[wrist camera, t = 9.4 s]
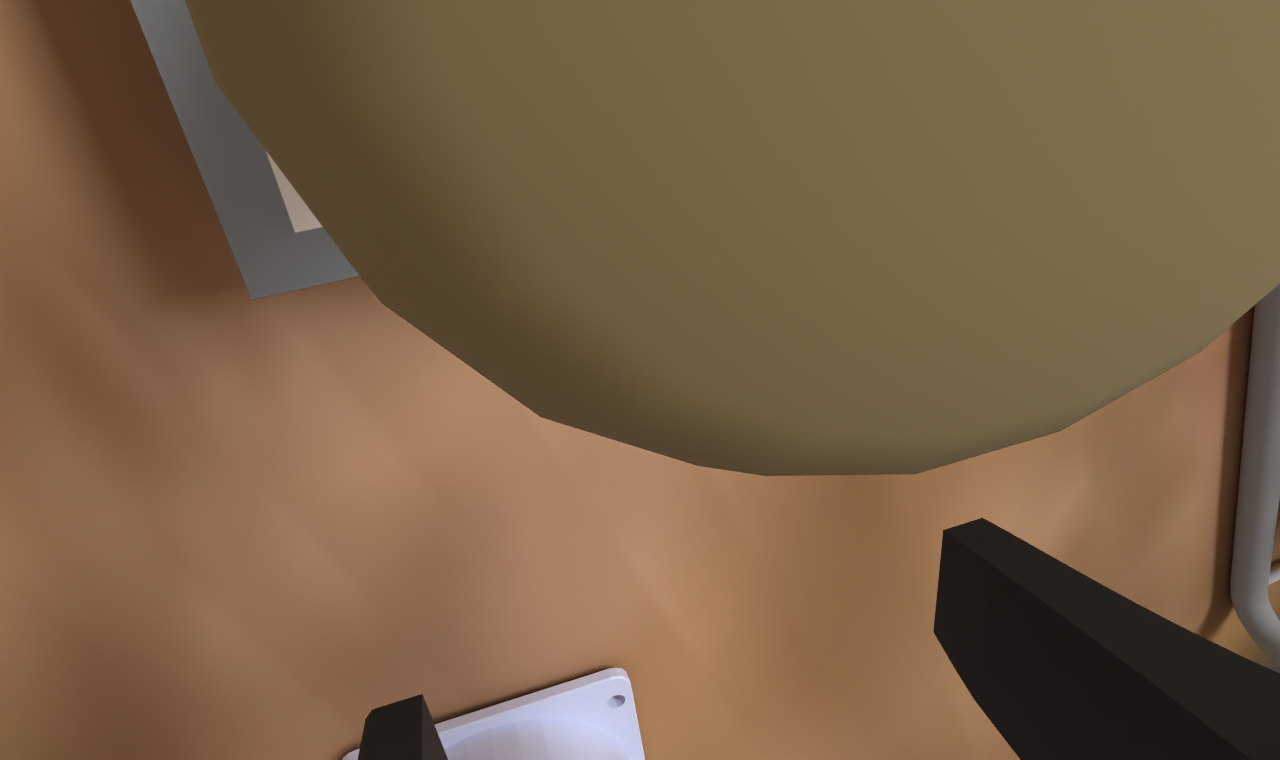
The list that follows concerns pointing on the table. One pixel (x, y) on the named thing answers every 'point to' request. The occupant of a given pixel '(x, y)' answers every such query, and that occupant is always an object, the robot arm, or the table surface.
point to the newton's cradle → (1259, 483)
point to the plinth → (238, 167)
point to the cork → (785, 203)
